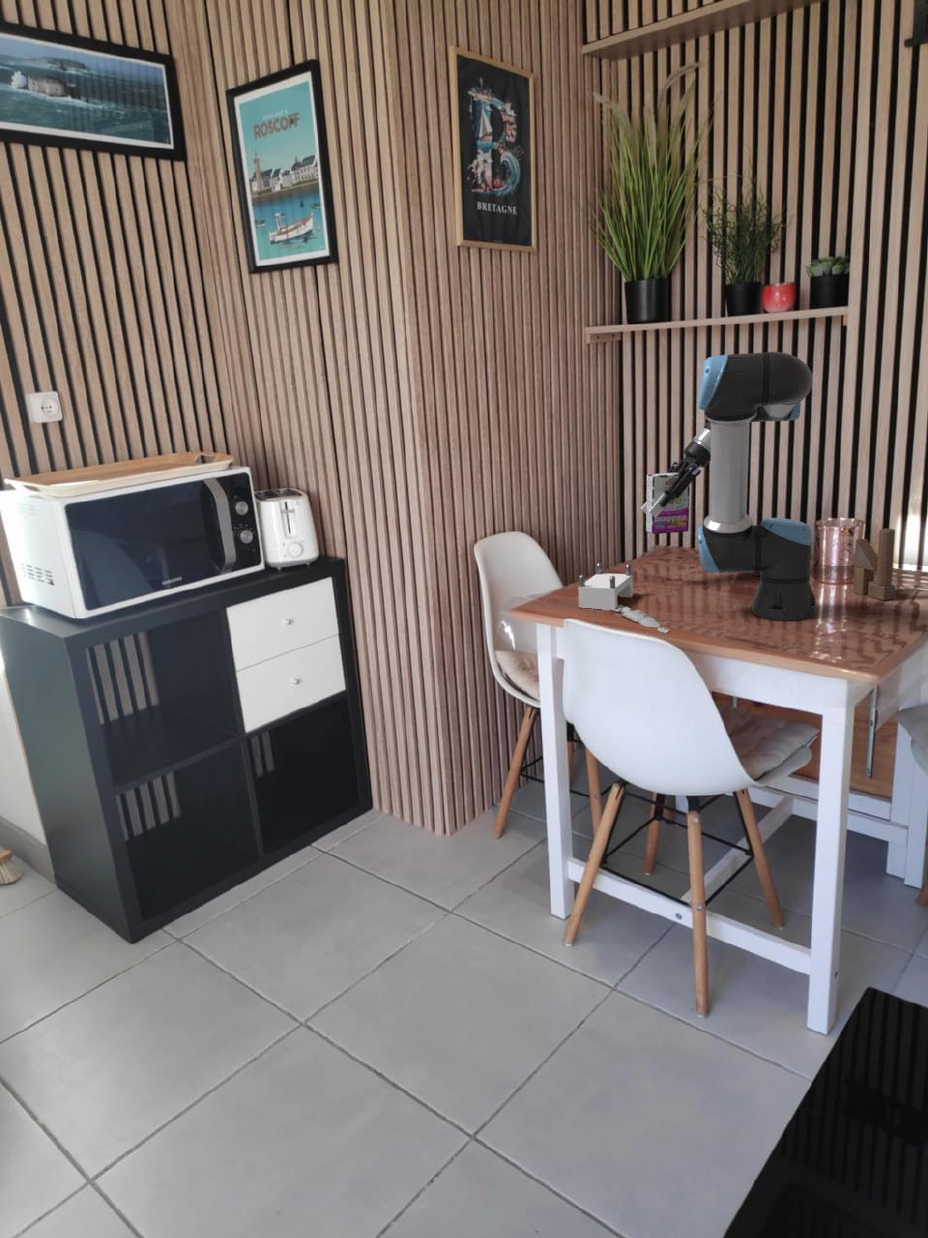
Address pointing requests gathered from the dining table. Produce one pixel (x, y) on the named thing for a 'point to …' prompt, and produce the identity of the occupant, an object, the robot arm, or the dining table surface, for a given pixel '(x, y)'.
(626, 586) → the peg shelf
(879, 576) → the wooden block stack
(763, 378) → the robot arm
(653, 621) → the driftwood
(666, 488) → the candy bar box
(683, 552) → the dining table surface
